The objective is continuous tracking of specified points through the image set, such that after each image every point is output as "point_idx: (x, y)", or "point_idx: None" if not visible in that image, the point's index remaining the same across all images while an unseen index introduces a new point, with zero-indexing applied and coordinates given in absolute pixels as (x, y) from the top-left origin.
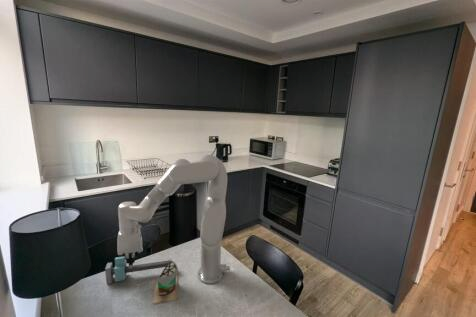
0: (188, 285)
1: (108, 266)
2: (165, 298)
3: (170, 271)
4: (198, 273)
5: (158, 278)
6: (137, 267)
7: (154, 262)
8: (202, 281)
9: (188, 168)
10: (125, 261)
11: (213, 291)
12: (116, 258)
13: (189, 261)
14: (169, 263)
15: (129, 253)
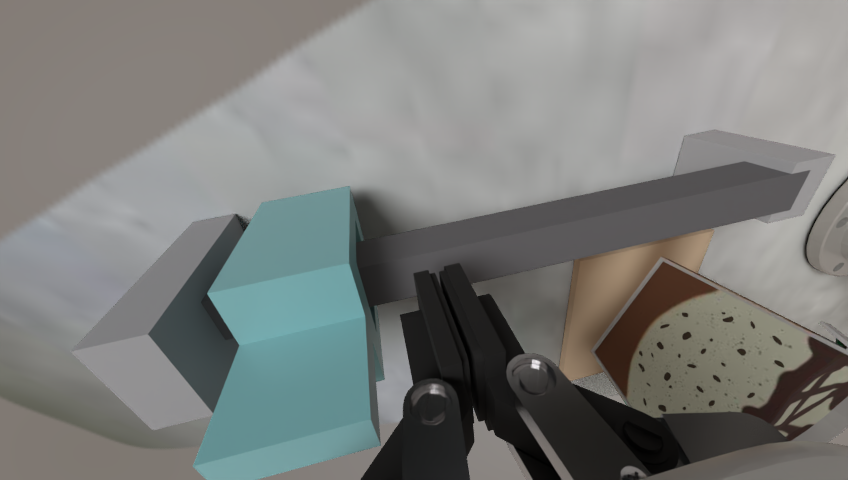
0: (734, 278)
1: (164, 398)
2: None
3: (784, 430)
4: (842, 216)
5: None
6: (494, 276)
7: (661, 202)
8: (812, 263)
9: None
10: (354, 293)
11: (806, 305)
12: (237, 475)
13: None
14: (831, 371)
15: (462, 428)
